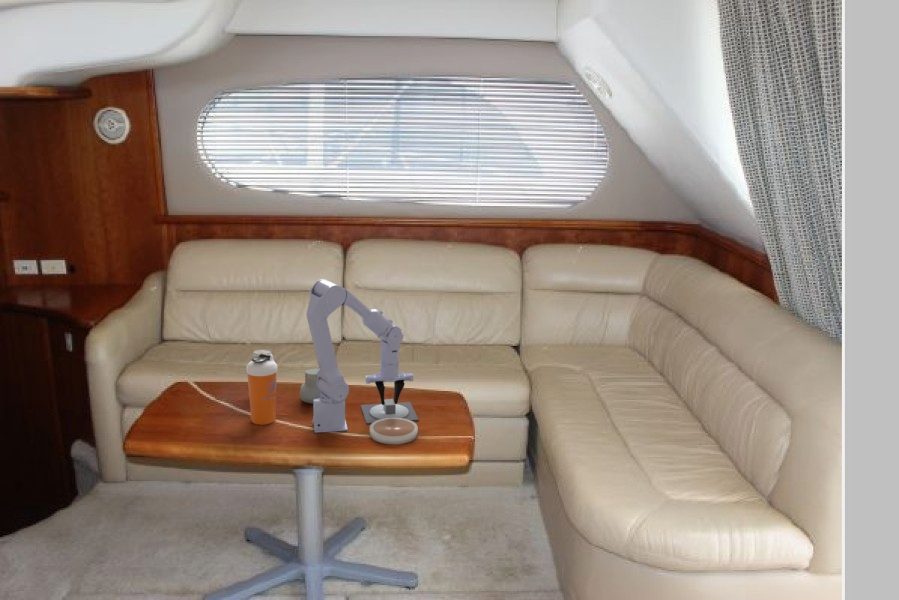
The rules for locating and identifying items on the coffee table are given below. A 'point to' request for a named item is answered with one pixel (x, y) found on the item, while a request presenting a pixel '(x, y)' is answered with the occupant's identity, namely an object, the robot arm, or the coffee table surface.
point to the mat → (370, 419)
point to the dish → (393, 430)
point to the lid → (389, 410)
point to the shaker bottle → (262, 389)
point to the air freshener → (310, 387)
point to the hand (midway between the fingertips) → (389, 403)
